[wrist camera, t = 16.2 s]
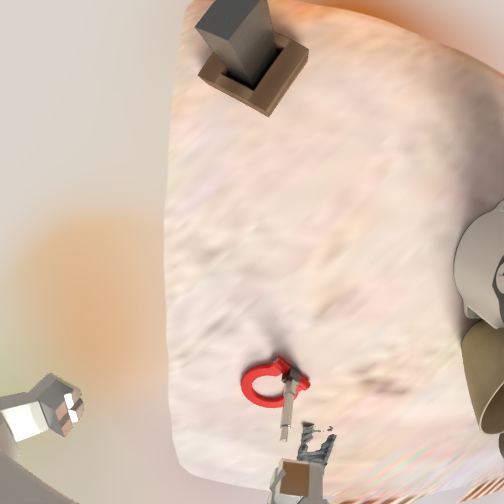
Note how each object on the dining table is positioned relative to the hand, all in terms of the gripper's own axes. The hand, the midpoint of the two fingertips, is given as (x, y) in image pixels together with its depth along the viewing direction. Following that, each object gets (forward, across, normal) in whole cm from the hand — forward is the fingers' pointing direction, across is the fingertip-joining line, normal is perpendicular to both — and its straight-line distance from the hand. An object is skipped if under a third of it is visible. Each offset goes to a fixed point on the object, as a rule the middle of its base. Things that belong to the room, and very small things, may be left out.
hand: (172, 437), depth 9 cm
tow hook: (+31, -7, +23) cm, 39 cm away
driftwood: (+31, -20, +40) cm, 55 cm away
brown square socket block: (+31, +6, -20) cm, 37 cm away
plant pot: (+31, -38, +7) cm, 50 cm away
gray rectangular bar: (+30, +6, -20) cm, 37 cm away
